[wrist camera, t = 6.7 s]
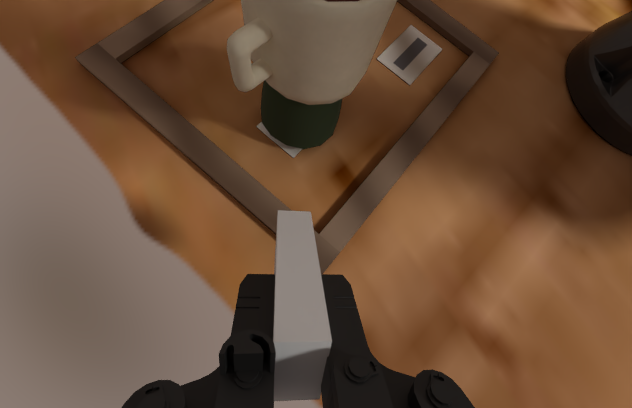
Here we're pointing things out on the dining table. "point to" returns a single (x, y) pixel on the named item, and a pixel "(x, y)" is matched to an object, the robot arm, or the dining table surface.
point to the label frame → (399, 57)
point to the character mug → (305, 60)
